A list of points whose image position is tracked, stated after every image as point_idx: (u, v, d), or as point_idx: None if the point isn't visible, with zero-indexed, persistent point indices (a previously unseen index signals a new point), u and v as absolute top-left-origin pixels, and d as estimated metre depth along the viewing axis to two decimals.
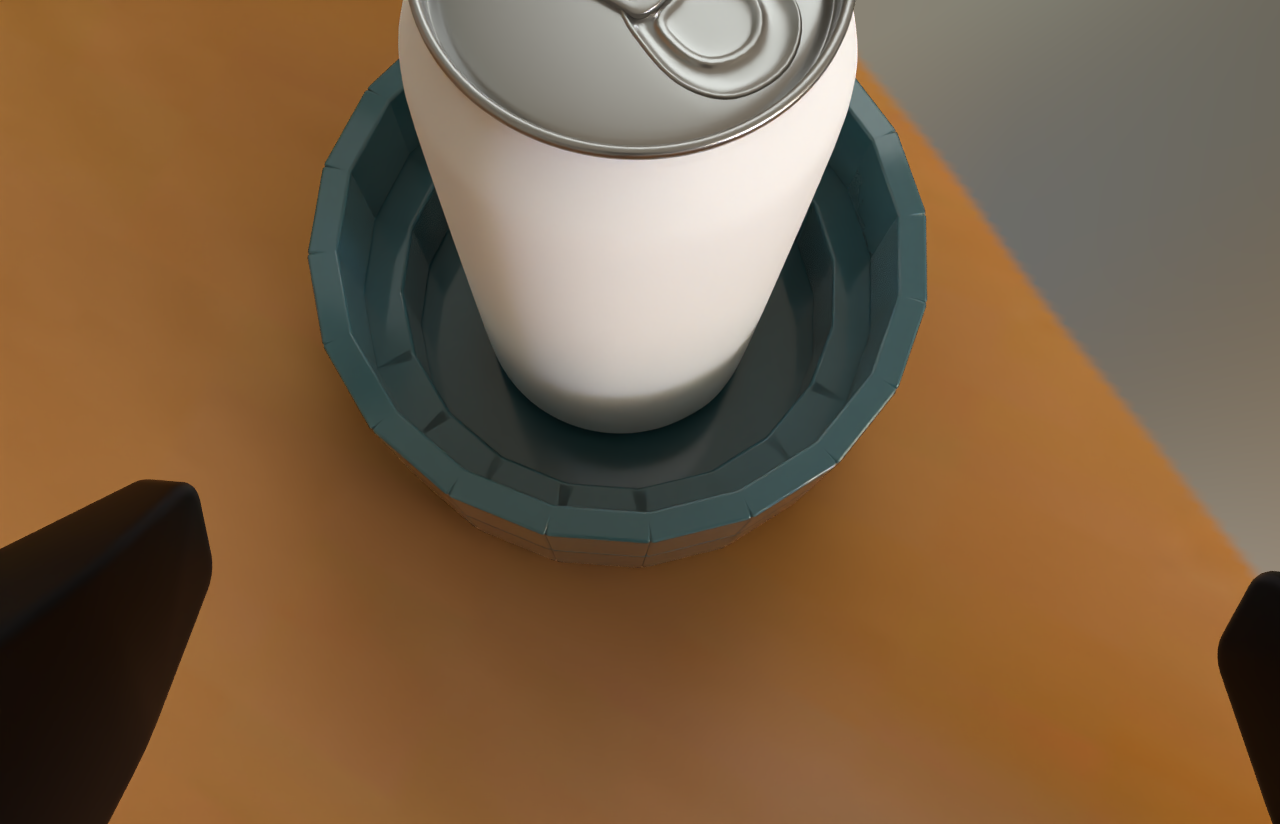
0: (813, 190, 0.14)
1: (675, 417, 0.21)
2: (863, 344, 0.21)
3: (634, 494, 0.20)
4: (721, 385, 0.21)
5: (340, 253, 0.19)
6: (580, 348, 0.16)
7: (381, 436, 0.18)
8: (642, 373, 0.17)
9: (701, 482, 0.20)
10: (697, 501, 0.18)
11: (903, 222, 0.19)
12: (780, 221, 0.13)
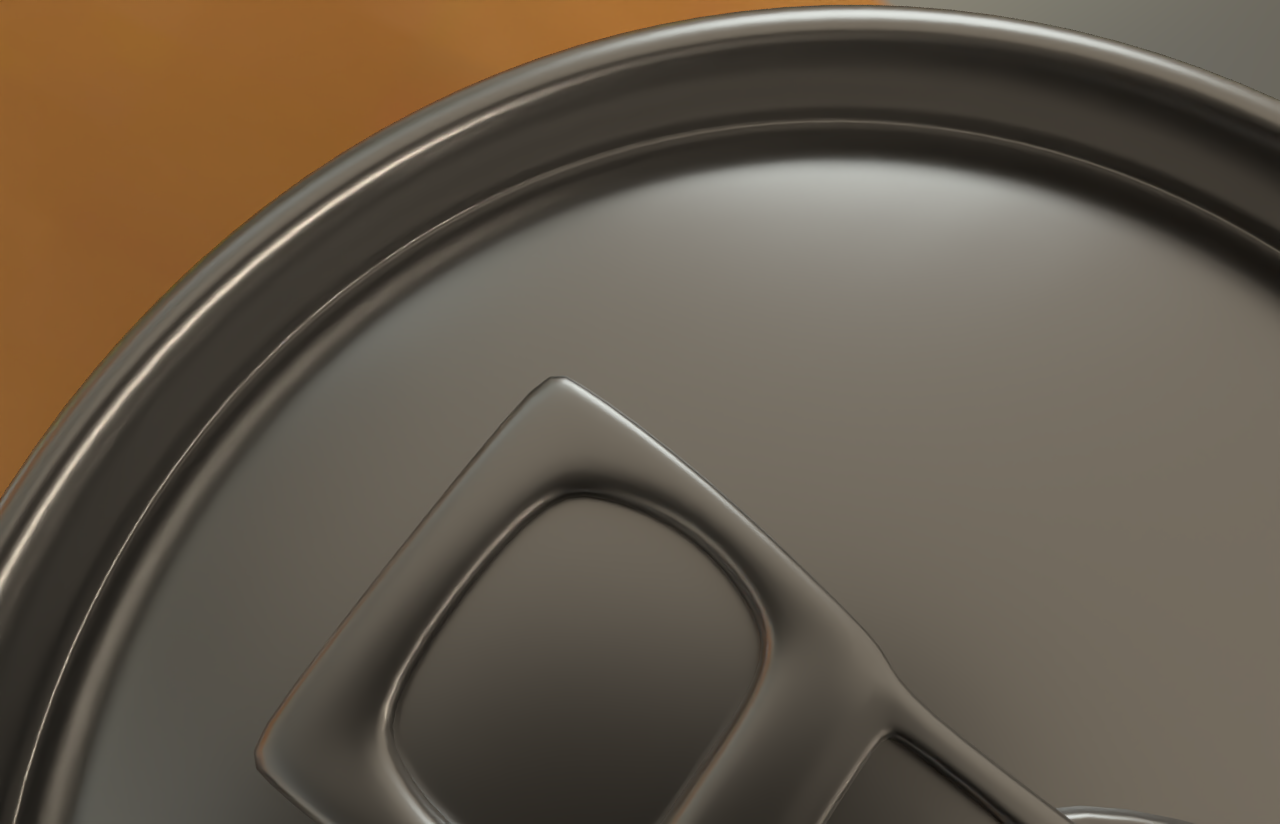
0: None
1: None
2: None
3: None
4: None
5: None
6: None
7: None
8: None
9: None
10: None
11: None
12: None
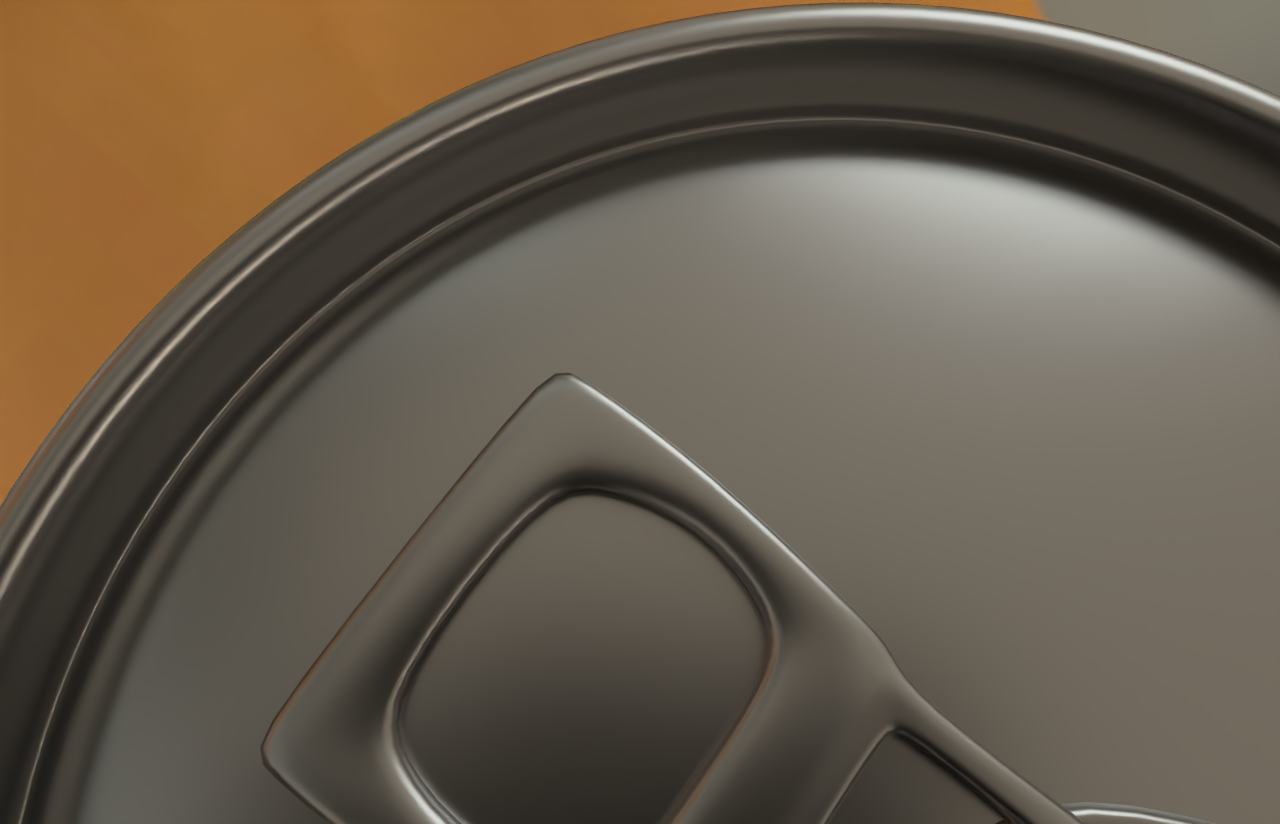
0: None
1: None
2: None
3: None
4: None
5: None
6: None
7: None
8: None
9: None
10: None
11: None
12: None
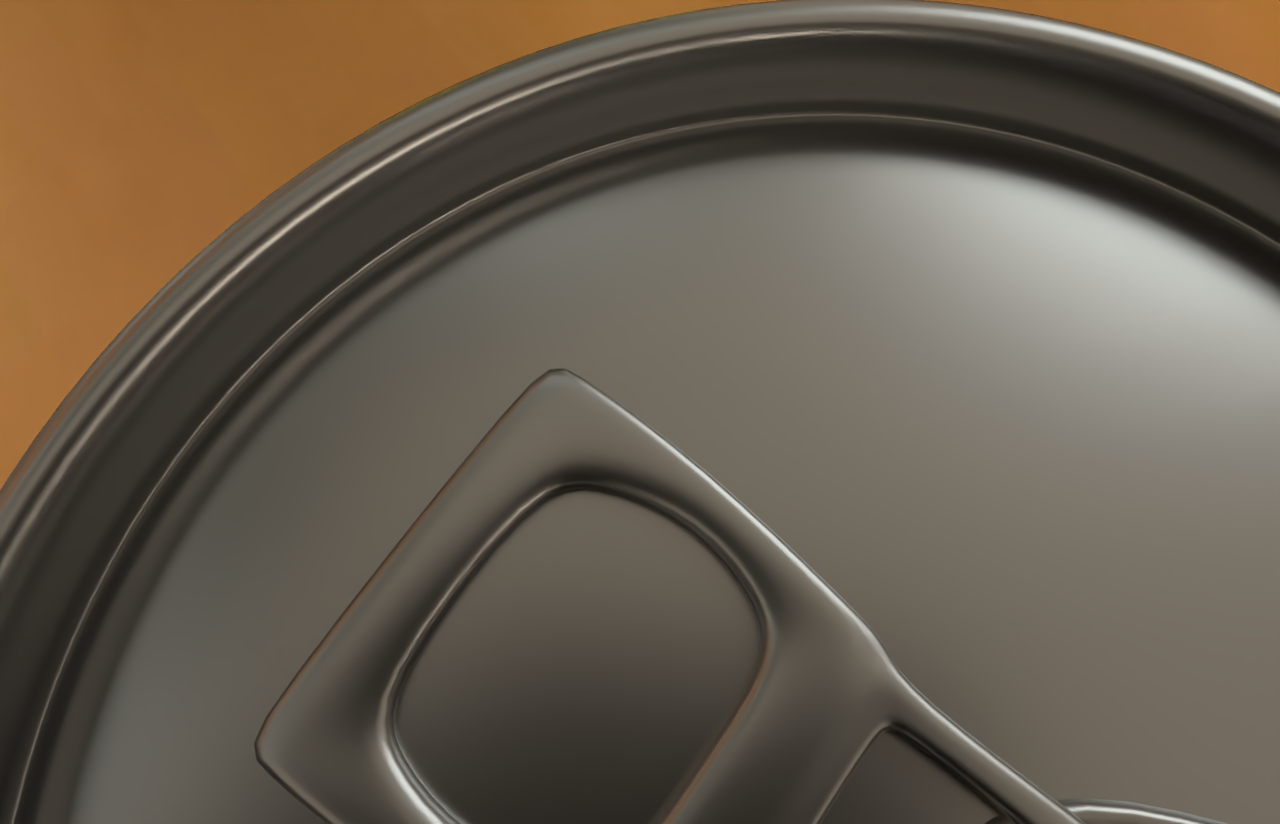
0: None
1: None
2: None
3: None
4: None
5: None
6: None
7: None
8: None
9: None
10: None
11: None
12: None
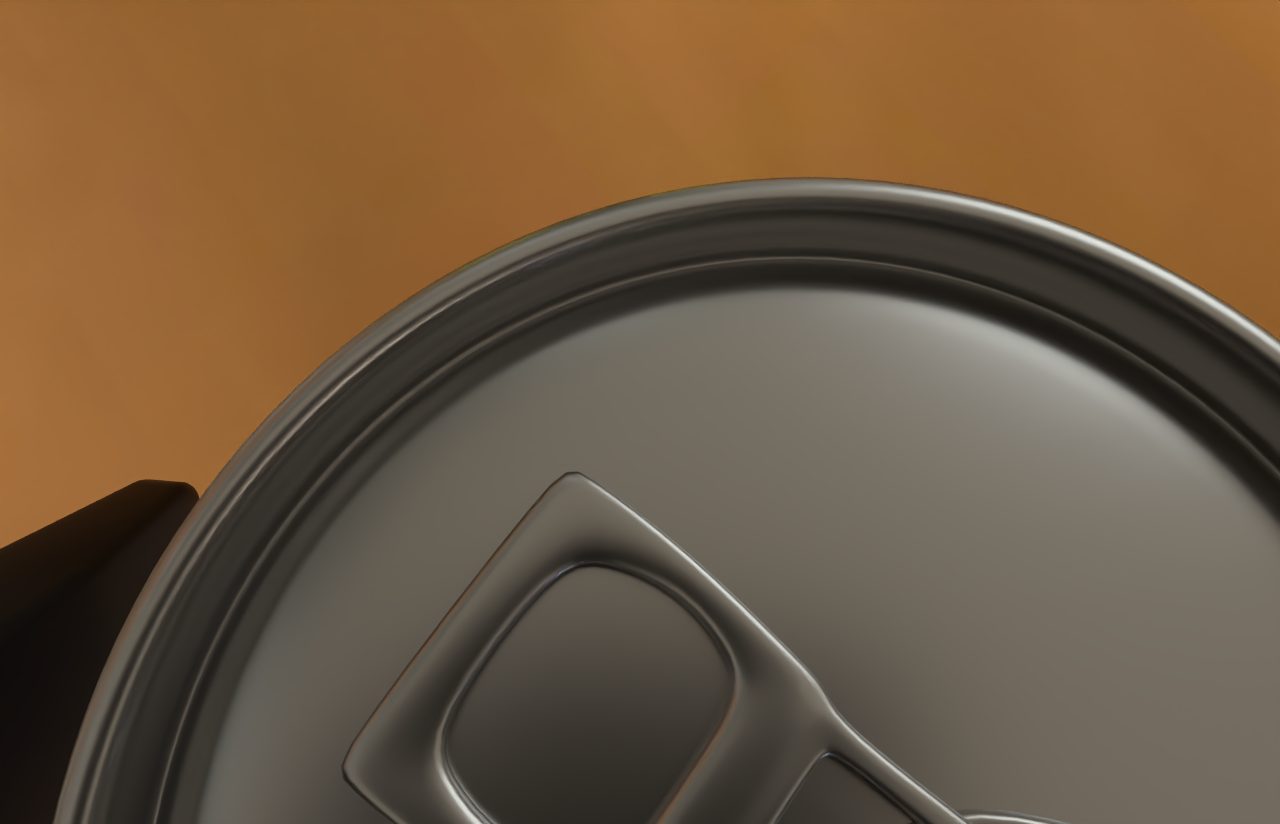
0: None
1: None
2: None
3: None
4: None
5: None
6: None
7: None
8: None
9: None
10: None
11: None
12: None
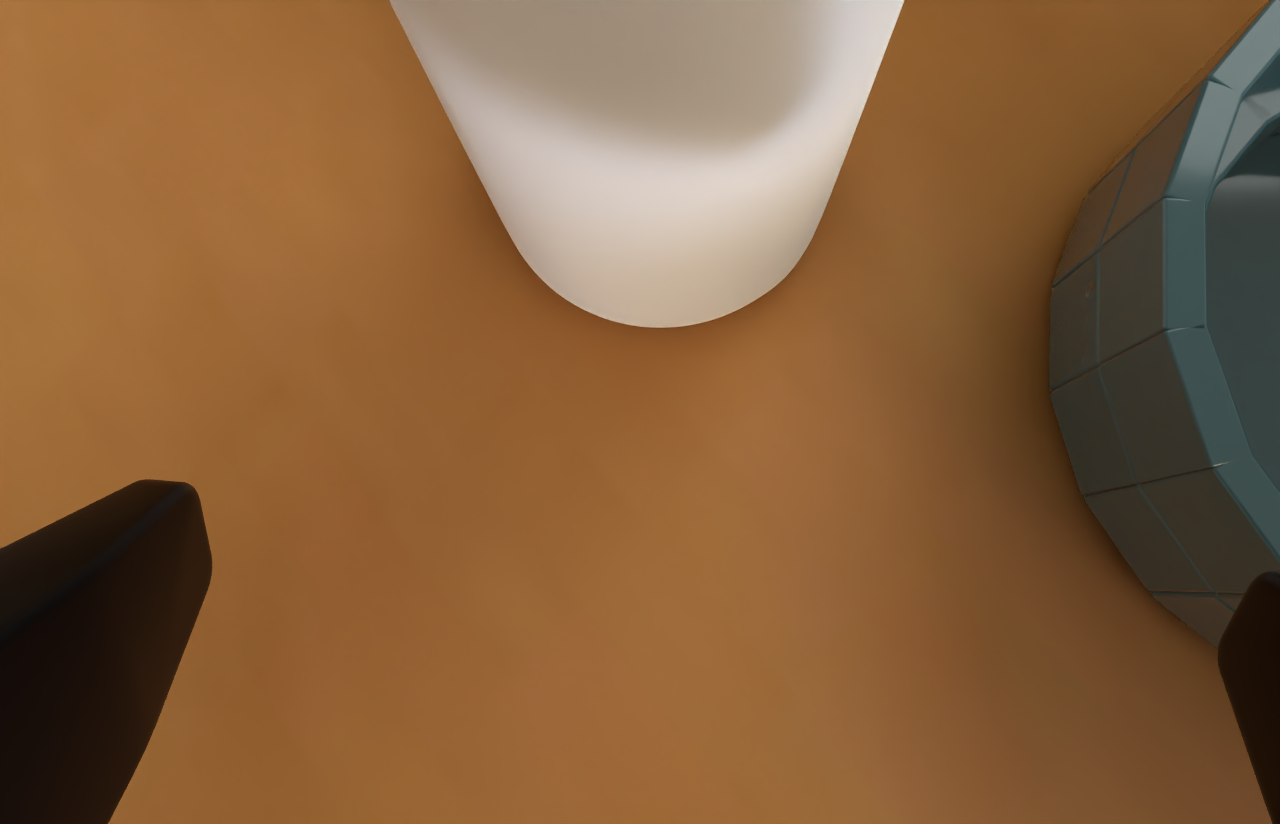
0: None
1: (742, 301, 0.17)
2: None
3: None
4: (797, 255, 0.17)
5: None
6: (609, 206, 0.12)
7: (1223, 482, 0.13)
8: (696, 236, 0.13)
9: None
10: None
11: None
12: None
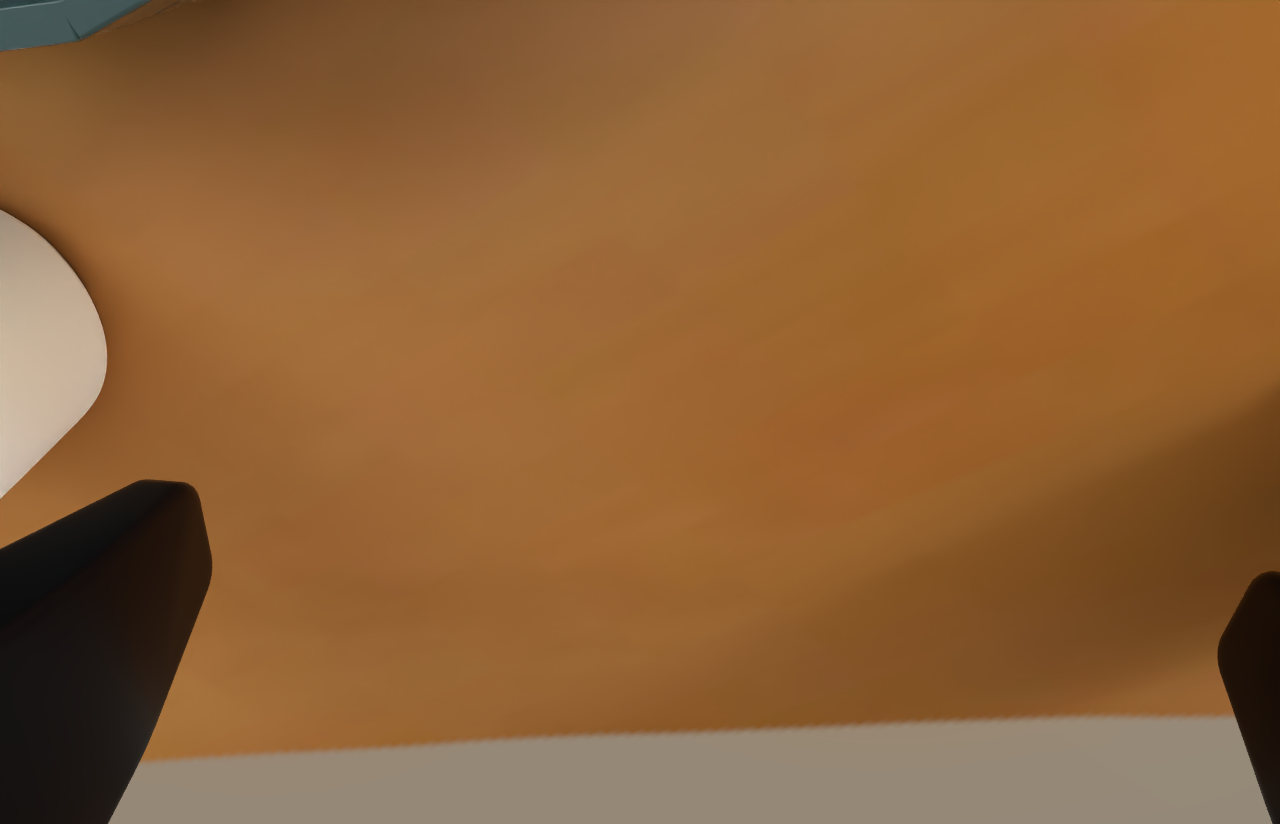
0: None
1: (62, 284, 0.20)
2: None
3: None
4: (7, 243, 0.19)
5: None
6: None
7: (91, 31, 0.14)
8: None
9: None
10: None
11: None
12: None
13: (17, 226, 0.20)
